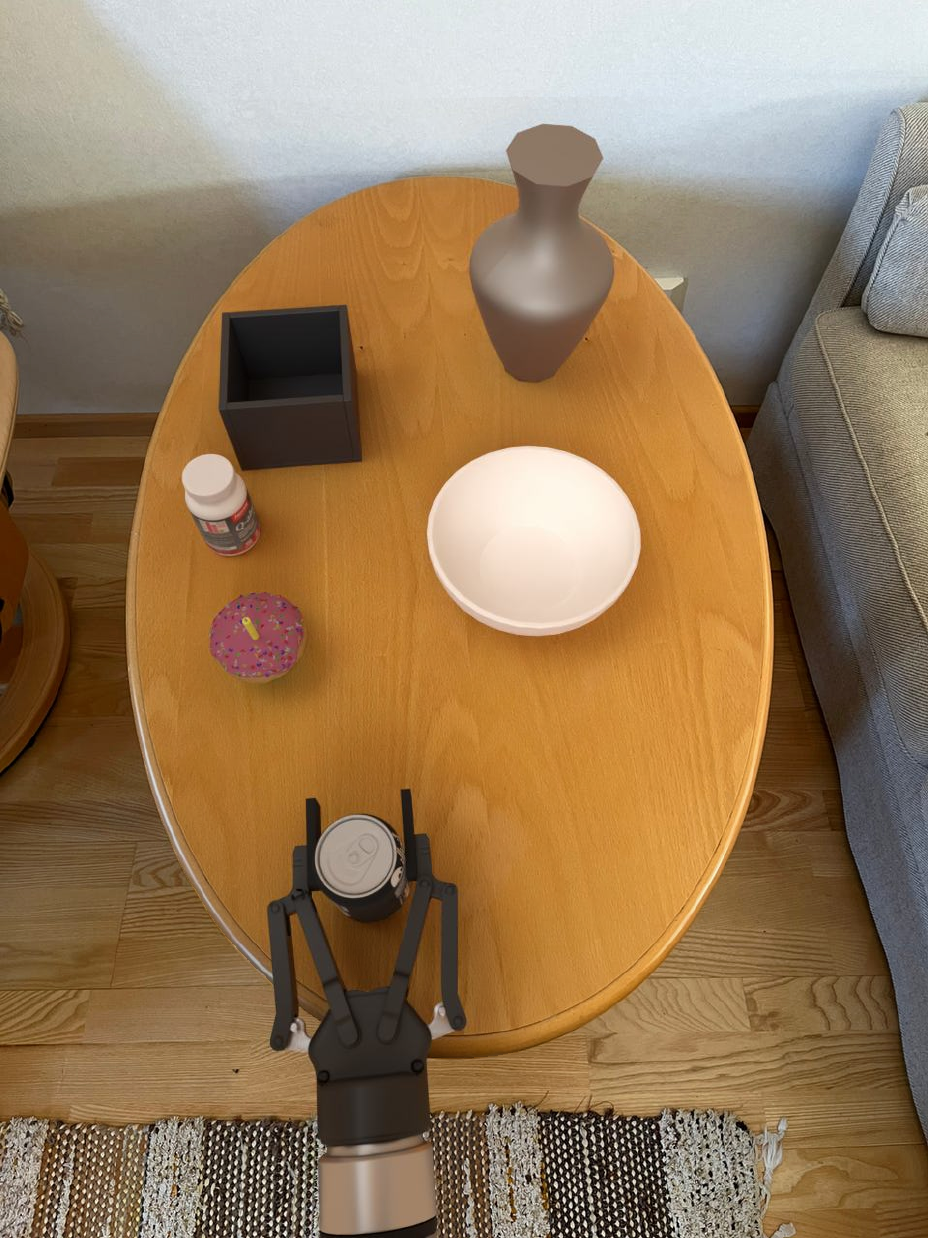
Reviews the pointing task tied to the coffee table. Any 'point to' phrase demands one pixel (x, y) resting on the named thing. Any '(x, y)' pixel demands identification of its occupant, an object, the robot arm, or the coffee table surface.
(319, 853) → the beverage can
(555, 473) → the bowl
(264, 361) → the trash bin
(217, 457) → the pill bottle
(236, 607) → the cupcake
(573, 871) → the coffee table surface
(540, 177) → the vase
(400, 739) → the coffee table surface
